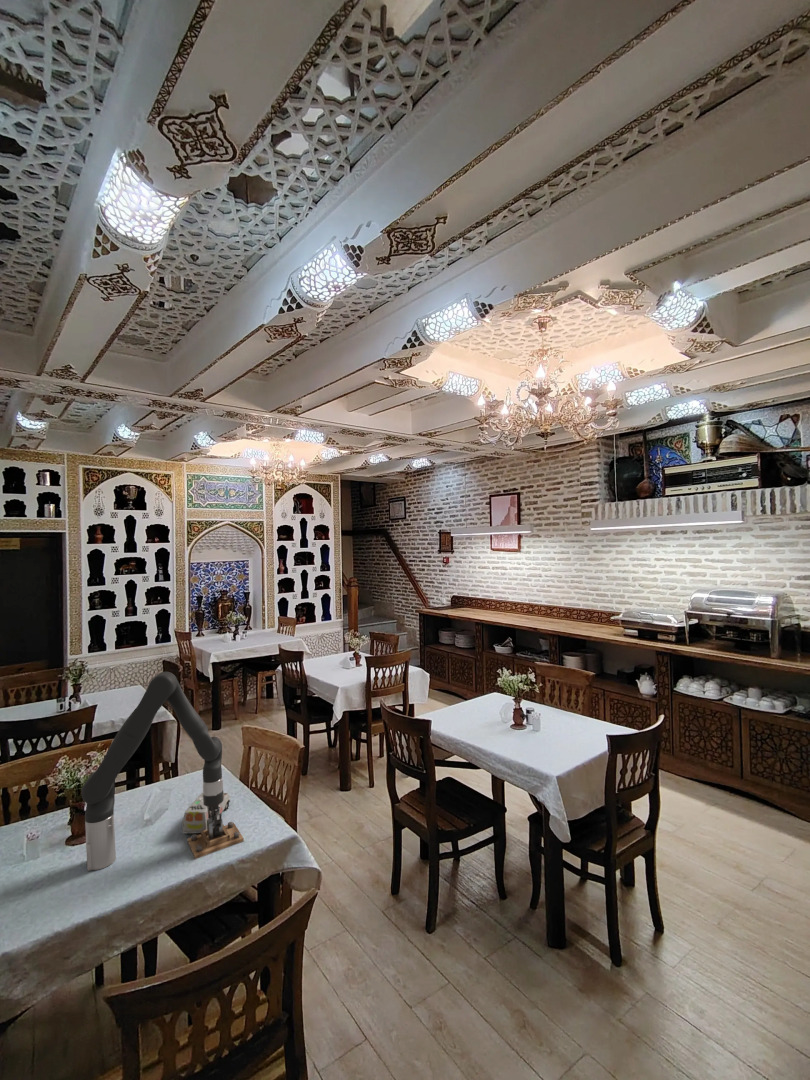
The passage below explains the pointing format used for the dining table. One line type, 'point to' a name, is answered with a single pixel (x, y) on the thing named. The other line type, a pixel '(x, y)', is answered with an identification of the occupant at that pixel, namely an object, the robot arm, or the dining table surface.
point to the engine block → (210, 828)
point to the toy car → (200, 814)
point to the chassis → (214, 841)
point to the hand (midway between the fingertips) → (215, 833)
